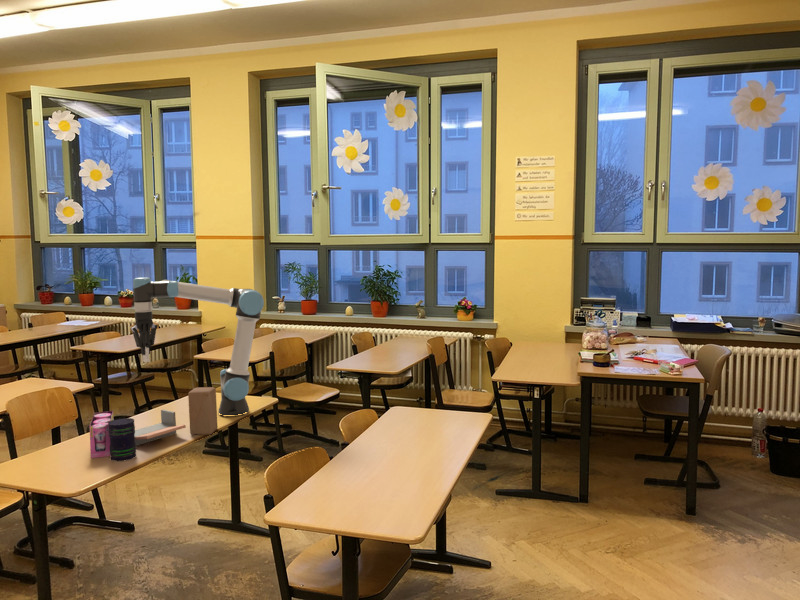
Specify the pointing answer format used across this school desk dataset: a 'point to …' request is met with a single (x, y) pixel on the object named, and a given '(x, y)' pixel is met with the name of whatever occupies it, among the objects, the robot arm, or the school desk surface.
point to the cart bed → (157, 427)
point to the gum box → (100, 434)
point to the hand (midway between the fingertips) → (146, 361)
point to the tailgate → (160, 432)
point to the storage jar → (122, 439)
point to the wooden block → (202, 410)
